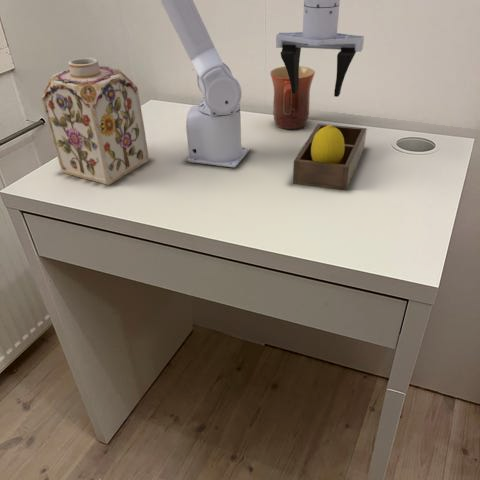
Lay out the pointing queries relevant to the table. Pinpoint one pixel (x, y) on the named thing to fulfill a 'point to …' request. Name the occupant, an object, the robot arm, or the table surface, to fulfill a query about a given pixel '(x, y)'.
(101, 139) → the decorative jar
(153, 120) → the table surface
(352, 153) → the caddy
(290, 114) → the mug
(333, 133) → the lemon
